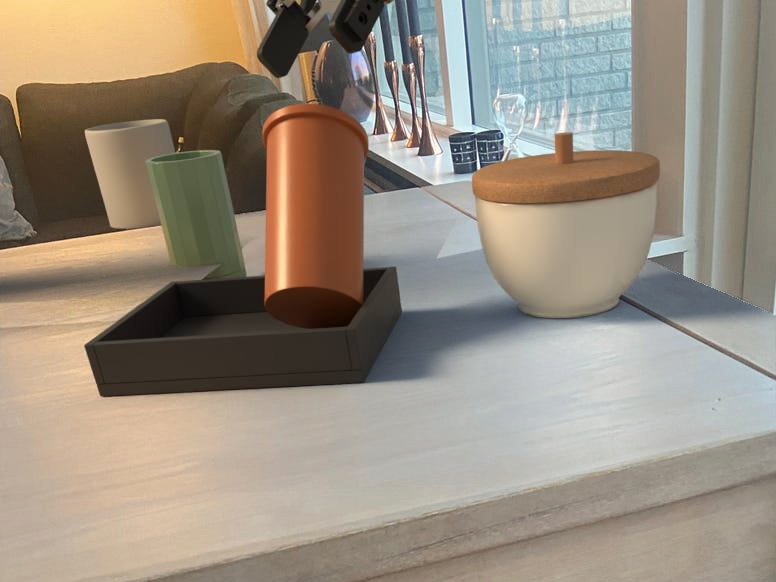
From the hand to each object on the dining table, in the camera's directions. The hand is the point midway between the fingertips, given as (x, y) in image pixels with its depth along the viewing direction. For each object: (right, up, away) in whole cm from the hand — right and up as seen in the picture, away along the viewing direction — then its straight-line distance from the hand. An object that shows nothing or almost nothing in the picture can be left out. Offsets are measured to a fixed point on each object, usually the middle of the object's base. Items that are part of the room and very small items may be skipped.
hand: (304, 55), depth 61 cm
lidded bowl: (+18, -13, +9) cm, 24 cm away
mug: (-25, +8, +45) cm, 52 cm away
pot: (0, -15, +2) cm, 16 cm away
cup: (-13, -5, +25) cm, 28 cm away
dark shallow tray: (-4, -17, +5) cm, 18 cm away
